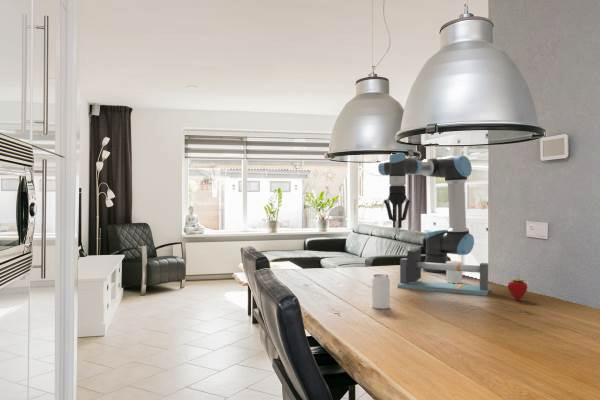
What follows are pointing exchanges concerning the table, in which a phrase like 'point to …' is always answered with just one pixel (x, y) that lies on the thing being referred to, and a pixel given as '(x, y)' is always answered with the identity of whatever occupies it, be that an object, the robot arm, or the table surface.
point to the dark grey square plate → (413, 265)
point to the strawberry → (517, 288)
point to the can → (380, 291)
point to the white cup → (454, 273)
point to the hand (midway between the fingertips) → (397, 234)
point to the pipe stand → (446, 287)
